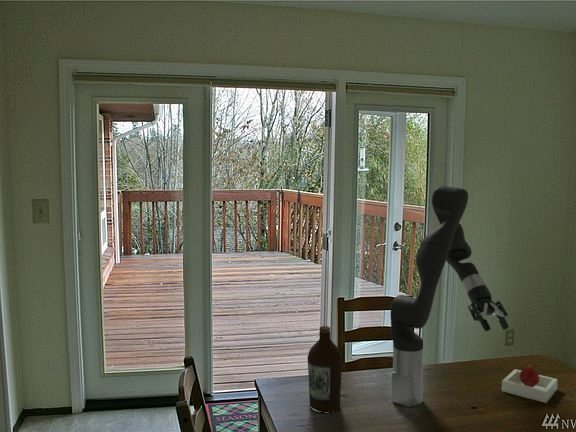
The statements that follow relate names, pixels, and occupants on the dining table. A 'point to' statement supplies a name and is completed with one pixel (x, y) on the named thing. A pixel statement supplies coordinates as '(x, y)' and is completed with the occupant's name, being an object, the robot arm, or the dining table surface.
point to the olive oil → (325, 373)
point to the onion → (529, 376)
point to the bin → (538, 392)
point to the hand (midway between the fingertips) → (497, 329)
